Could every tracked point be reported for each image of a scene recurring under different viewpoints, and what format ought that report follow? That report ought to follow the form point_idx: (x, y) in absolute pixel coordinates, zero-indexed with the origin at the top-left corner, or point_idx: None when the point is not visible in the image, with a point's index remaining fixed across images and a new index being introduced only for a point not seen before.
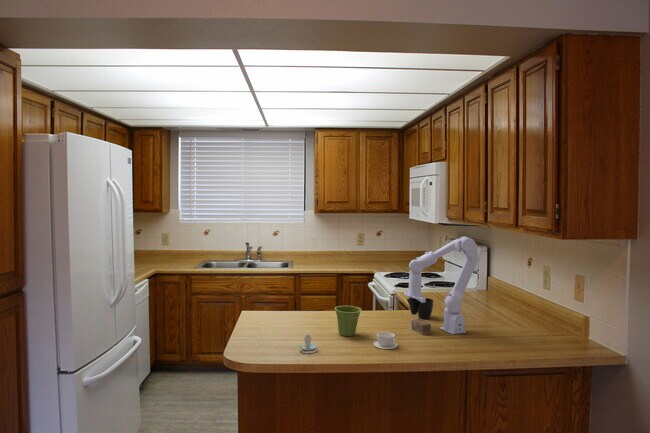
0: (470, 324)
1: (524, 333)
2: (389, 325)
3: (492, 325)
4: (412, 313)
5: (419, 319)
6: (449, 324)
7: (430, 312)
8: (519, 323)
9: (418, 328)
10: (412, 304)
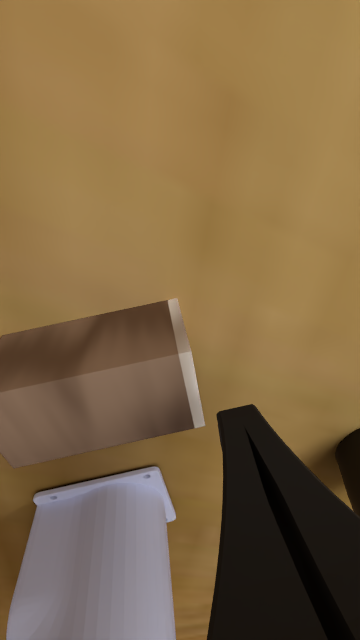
0: (199, 559)
1: None
2: (334, 107)
3: (173, 597)
4: (227, 420)
5: (174, 422)
6: (72, 541)
7: (352, 505)
8: (181, 632)
9: (51, 346)
10: (231, 606)
